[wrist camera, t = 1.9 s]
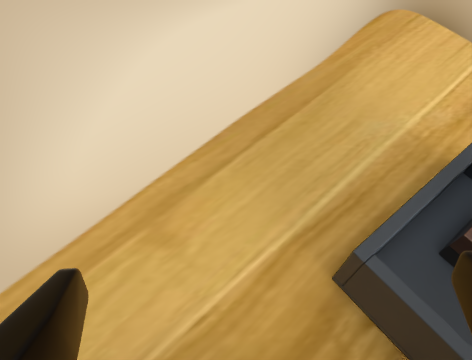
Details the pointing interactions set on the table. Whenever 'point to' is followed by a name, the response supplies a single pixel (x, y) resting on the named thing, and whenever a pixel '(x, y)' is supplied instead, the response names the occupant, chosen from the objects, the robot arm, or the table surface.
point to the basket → (416, 269)
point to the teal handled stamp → (458, 245)
